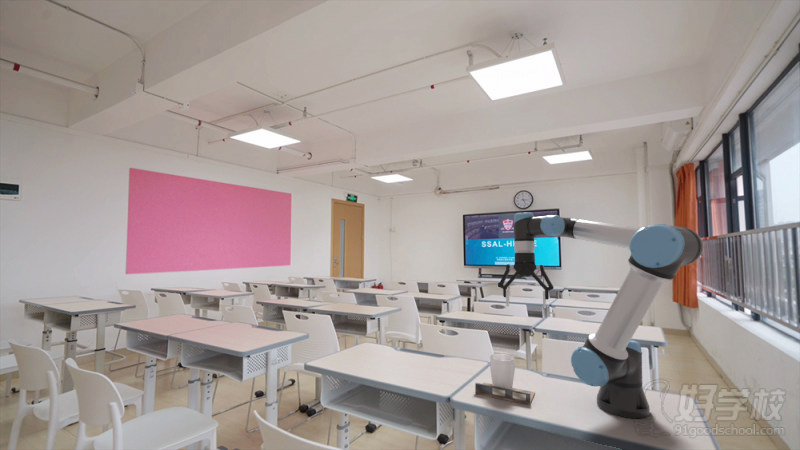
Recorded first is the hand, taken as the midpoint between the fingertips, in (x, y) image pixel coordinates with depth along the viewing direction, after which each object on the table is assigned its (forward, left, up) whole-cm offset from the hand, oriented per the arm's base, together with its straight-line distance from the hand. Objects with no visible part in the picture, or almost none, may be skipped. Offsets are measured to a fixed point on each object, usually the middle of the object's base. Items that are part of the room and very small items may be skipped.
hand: (525, 307), depth 141 cm
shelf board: (+6, +10, -30) cm, 33 cm away
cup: (+7, +9, -30) cm, 32 cm away
